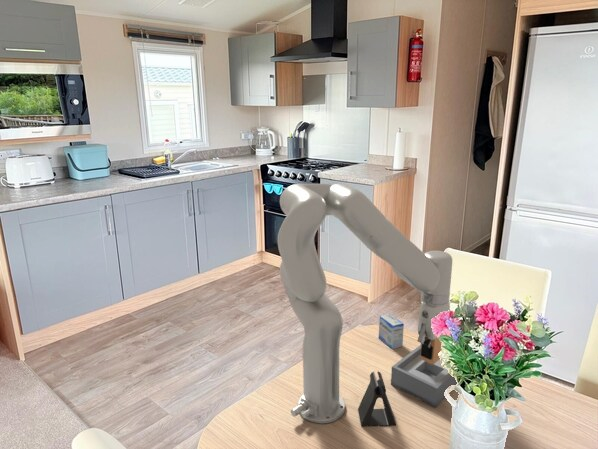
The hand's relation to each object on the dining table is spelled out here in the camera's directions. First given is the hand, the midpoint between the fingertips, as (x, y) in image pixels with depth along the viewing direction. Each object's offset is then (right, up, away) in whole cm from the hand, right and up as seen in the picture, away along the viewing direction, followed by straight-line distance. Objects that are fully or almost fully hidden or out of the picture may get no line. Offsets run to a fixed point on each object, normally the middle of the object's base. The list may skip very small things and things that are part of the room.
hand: (430, 353), depth 124 cm
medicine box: (-7, -3, +23) cm, 24 cm away
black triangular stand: (-18, -14, -11) cm, 25 cm away
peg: (0, -2, +1) cm, 2 cm away
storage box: (0, -9, +3) cm, 9 cm away
